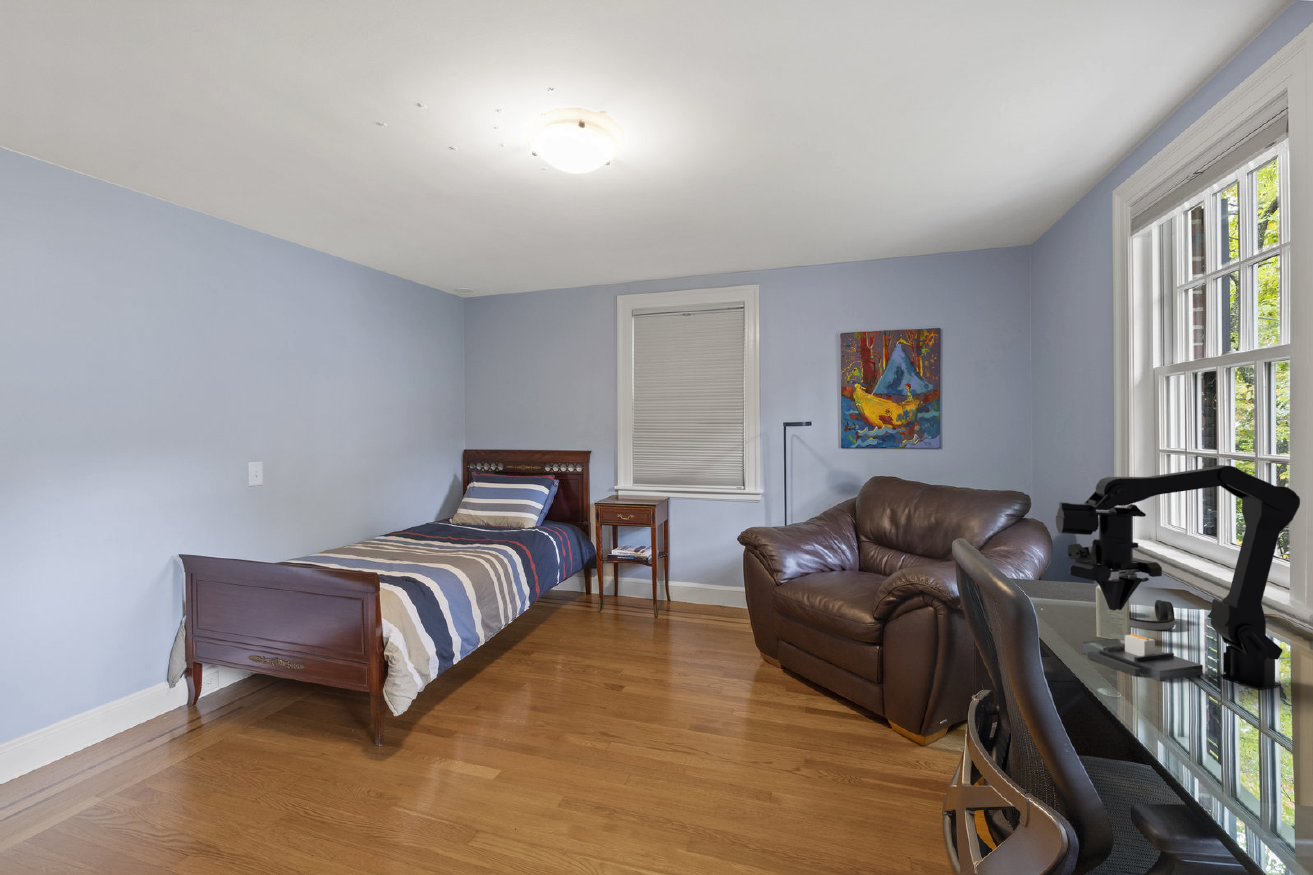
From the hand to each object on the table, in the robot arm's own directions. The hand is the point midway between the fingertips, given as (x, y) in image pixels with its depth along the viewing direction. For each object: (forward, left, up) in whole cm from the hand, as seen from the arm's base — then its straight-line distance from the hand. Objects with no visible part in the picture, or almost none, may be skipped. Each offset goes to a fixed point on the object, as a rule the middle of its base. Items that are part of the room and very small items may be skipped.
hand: (1115, 609), depth 125 cm
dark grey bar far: (+10, -9, -12) cm, 18 cm away
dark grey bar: (0, +1, -12) cm, 12 cm away
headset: (+23, -39, -12) cm, 47 cm away
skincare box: (+14, -18, -12) cm, 26 cm away
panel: (0, -7, -12) cm, 14 cm away
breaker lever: (0, -7, -10) cm, 12 cm away
